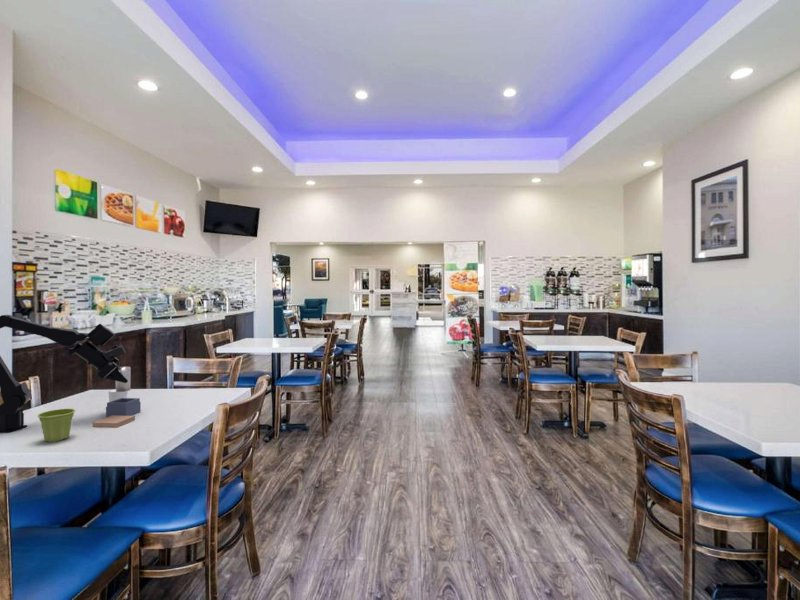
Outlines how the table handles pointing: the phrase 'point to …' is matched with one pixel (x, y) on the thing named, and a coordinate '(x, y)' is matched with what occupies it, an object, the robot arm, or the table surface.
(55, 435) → the plant pot
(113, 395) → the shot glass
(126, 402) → the dark blue ridged block
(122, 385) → the silver metal cylinder
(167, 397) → the table surface
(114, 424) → the tan flat square slab
